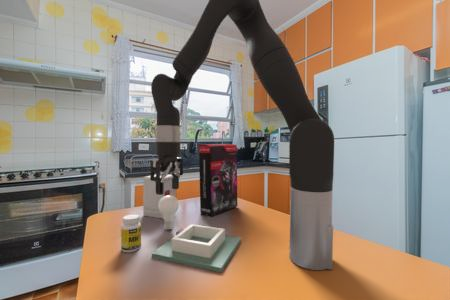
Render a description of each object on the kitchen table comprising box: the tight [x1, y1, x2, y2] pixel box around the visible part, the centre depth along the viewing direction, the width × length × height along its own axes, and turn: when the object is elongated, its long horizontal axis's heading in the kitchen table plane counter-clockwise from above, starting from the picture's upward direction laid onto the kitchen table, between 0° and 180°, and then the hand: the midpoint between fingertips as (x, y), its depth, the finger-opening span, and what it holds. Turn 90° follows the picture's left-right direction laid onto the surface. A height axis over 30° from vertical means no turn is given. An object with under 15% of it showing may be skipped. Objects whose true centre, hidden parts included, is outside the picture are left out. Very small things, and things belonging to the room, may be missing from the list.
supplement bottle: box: [120, 214, 142, 253], centre depth 58 cm, size 5×5×8 cm
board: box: [151, 223, 242, 273], centre depth 58 cm, size 18×16×4 cm
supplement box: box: [142, 173, 176, 219], centre depth 85 cm, size 9×9×15 cm
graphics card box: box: [198, 143, 238, 217], centre depth 90 cm, size 17×7×27 cm, turn 141°
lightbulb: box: [158, 195, 180, 231], centre depth 70 cm, size 6×6×11 cm
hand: (168, 191), depth 70 cm, fingers open, 8 cm apart
